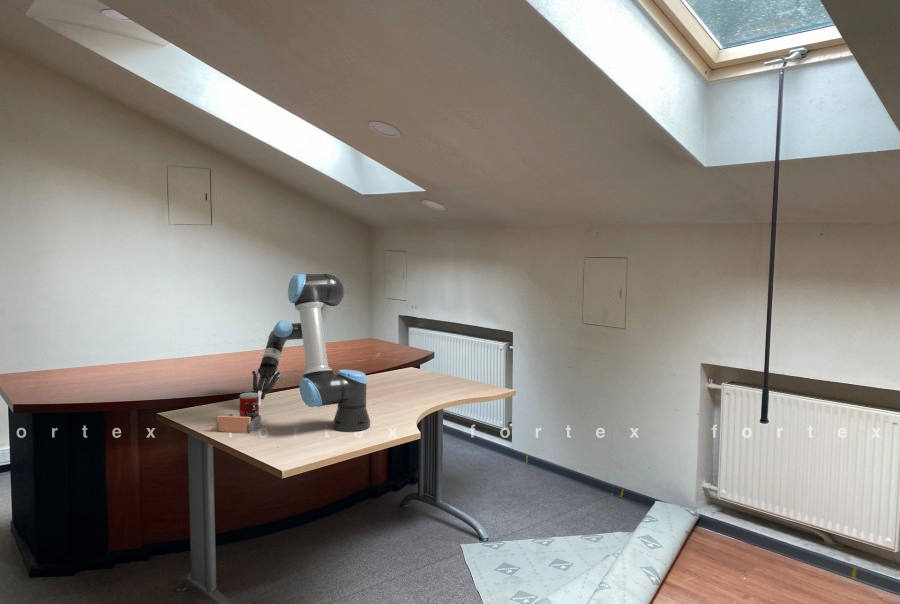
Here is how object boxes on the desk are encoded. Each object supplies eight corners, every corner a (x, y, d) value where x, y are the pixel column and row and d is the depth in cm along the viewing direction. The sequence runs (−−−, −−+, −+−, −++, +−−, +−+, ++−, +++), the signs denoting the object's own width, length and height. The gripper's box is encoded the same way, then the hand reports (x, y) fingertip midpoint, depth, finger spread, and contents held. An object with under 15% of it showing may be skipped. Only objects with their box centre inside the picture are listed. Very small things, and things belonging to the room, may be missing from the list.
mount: (261, 423, 255) (260, 409, 254) (249, 432, 242) (249, 418, 242) (230, 422, 255) (230, 408, 255) (217, 431, 243) (216, 416, 242)
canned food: (245, 424, 254) (245, 398, 252) (236, 420, 259) (235, 394, 258) (262, 420, 259) (262, 395, 258) (253, 416, 265) (252, 391, 263)
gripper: (286, 365, 285) (274, 410, 270) (258, 364, 286) (244, 409, 271) (282, 356, 279) (269, 401, 264) (254, 354, 280) (240, 400, 265)
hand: (257, 405), depth 268 cm, fingers closed
